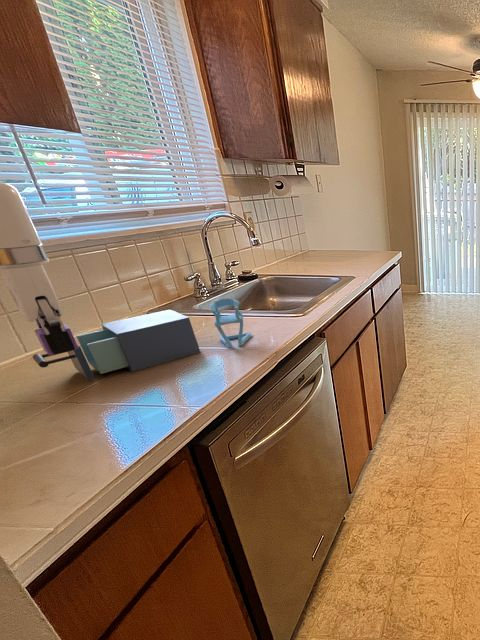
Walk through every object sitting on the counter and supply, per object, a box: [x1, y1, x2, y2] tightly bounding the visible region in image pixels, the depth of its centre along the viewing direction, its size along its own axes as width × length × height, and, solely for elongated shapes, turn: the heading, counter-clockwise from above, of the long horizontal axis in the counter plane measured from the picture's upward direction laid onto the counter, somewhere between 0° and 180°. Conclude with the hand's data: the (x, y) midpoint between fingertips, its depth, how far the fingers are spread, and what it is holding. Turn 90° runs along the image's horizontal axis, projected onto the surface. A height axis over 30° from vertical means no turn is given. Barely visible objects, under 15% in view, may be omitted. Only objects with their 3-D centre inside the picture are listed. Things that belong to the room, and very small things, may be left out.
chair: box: [209, 298, 252, 349], centre depth 109 cm, size 8×8×12 cm
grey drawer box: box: [101, 308, 201, 372], centre depth 101 cm, size 15×13×10 cm
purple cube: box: [33, 323, 79, 357], centre depth 79 cm, size 4×4×4 cm
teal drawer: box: [32, 329, 129, 381], centre depth 93 cm, size 19×11×8 cm, turn 144°
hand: (60, 347), depth 80 cm, fingers closed on purple cube, 4 cm apart
